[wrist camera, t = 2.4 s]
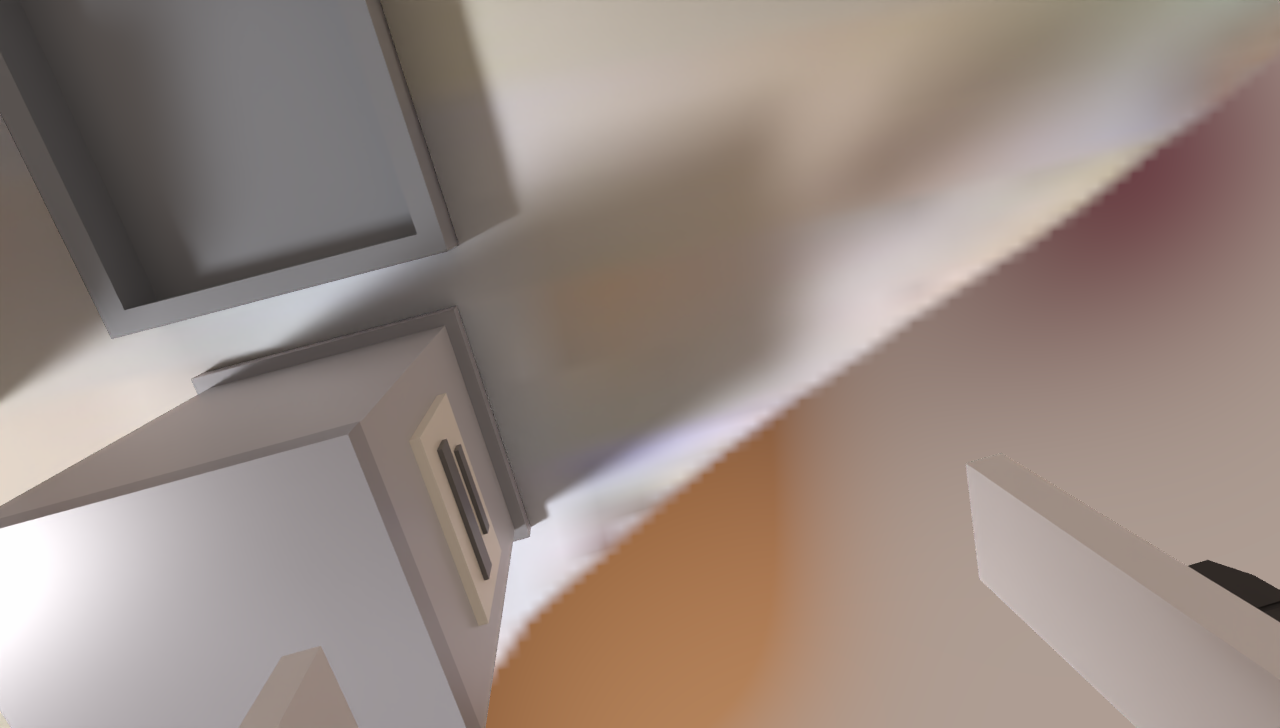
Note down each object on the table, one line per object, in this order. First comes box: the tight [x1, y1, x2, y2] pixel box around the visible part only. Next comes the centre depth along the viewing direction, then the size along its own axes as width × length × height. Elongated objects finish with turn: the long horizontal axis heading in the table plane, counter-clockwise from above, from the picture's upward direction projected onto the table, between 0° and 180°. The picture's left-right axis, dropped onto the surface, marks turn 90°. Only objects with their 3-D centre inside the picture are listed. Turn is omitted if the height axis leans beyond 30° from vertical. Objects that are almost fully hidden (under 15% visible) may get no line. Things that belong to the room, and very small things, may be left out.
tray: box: [0, 0, 459, 339], centre depth 22 cm, size 12×15×2 cm
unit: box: [0, 306, 531, 728], centre depth 21 cm, size 10×10×13 cm
